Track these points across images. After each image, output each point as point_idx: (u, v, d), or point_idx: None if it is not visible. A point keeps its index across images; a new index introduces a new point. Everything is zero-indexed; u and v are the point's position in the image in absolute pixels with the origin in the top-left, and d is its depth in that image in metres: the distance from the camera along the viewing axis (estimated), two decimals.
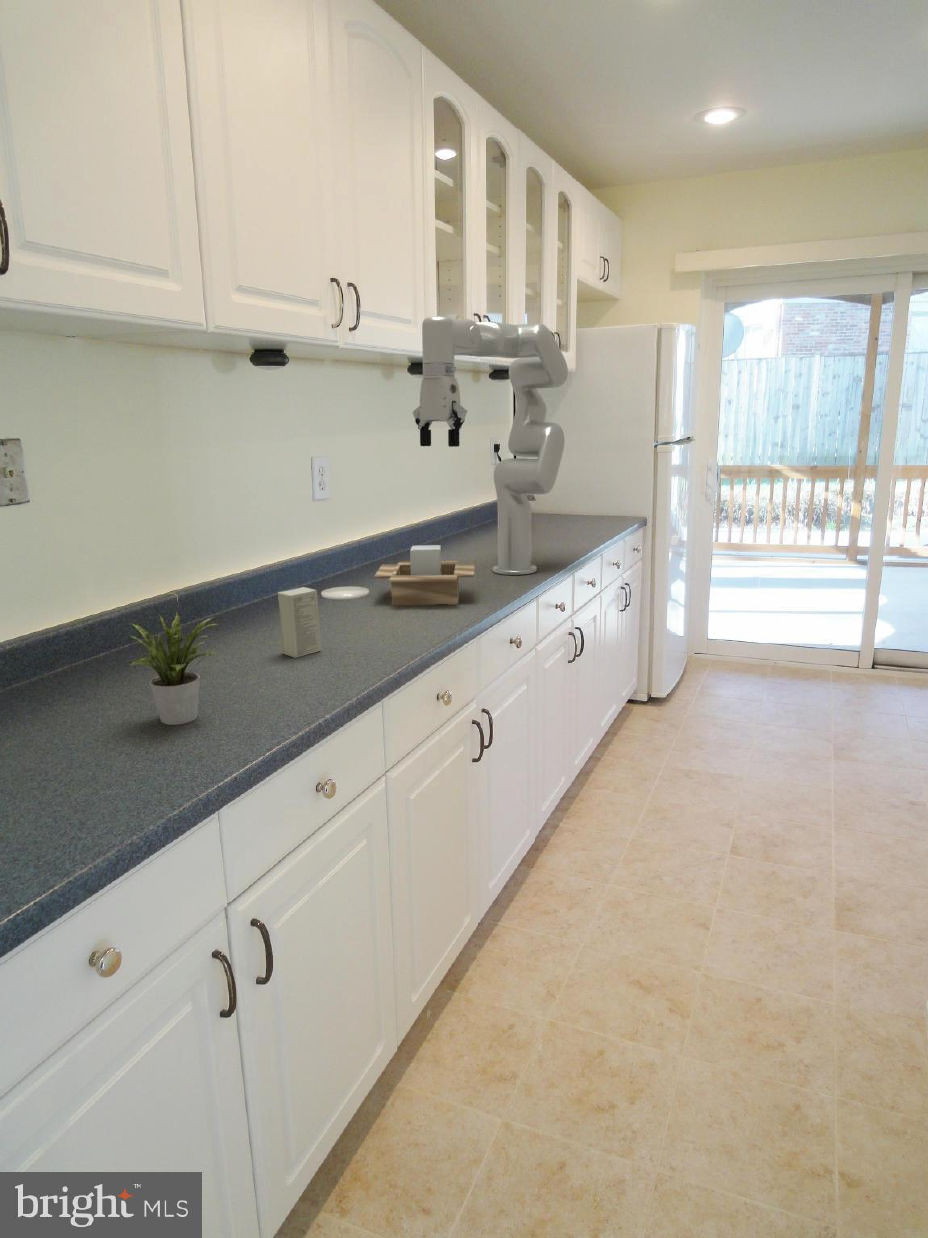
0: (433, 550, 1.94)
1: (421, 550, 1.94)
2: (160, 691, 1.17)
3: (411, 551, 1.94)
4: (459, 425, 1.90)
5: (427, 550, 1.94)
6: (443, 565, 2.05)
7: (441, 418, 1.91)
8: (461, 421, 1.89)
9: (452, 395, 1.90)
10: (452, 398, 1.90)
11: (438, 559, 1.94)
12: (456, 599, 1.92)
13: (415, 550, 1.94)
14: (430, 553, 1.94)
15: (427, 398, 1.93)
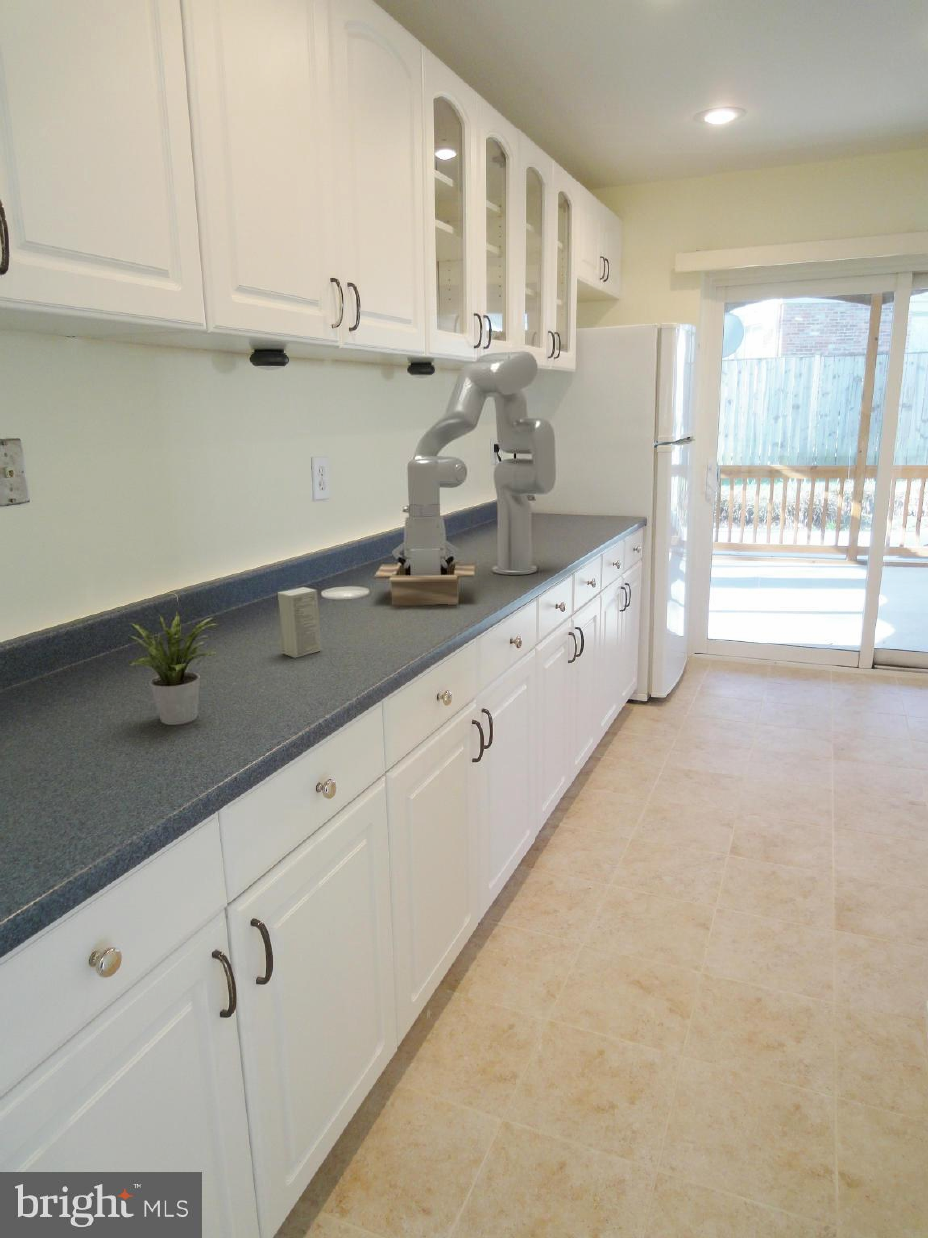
0: (433, 550, 1.94)
1: (421, 550, 1.94)
2: (160, 691, 1.17)
3: (411, 551, 1.94)
4: None
5: (427, 550, 1.94)
6: None
7: None
8: None
9: None
10: None
11: (438, 559, 1.94)
12: (456, 599, 1.92)
13: (415, 550, 1.94)
14: (430, 553, 1.94)
15: None
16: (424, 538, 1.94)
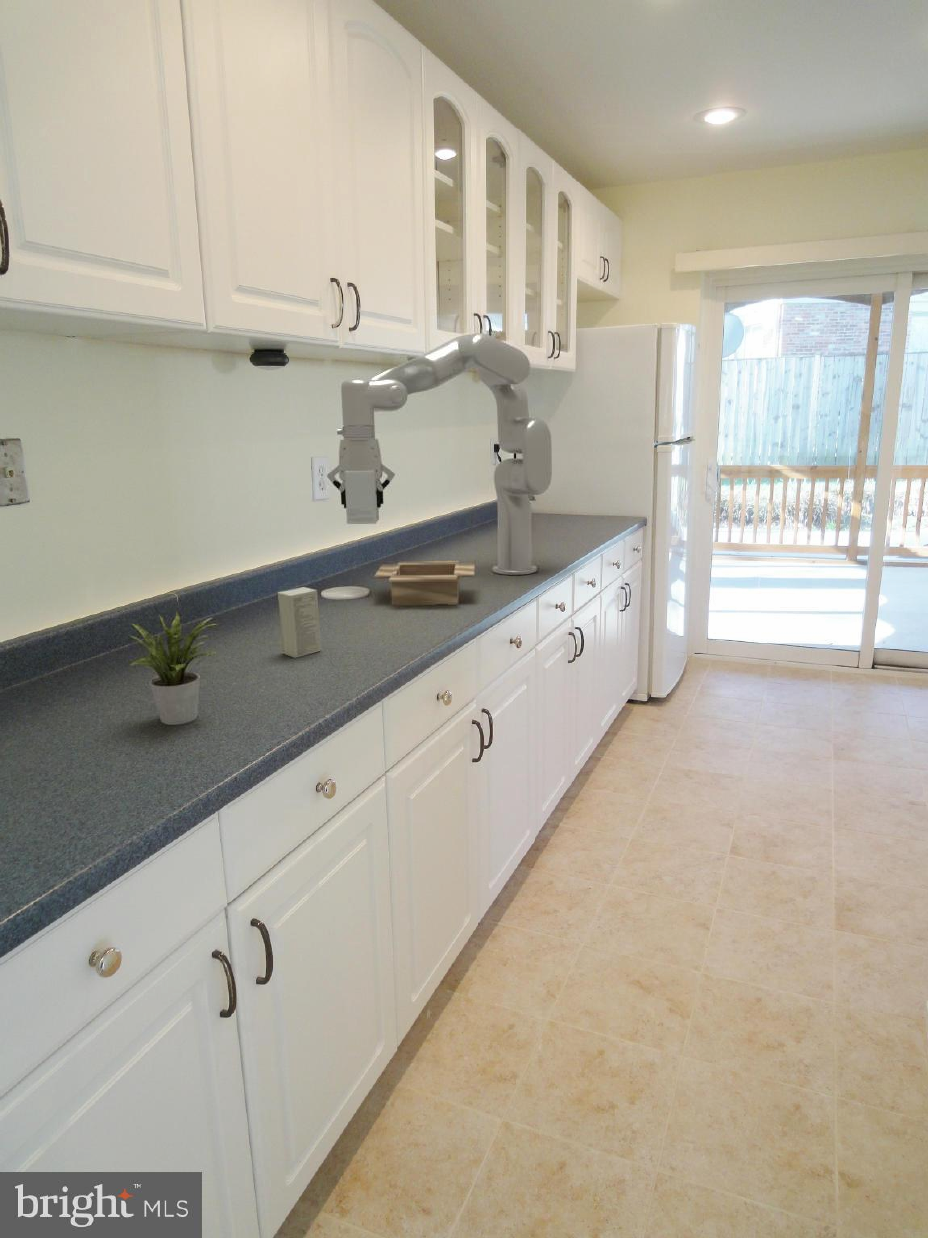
0: (368, 472, 1.93)
1: (356, 472, 1.93)
2: (160, 691, 1.17)
3: (346, 473, 1.93)
4: (337, 487, 1.97)
5: (362, 472, 1.93)
6: (443, 565, 2.05)
7: None
8: None
9: None
10: None
11: (373, 481, 1.93)
12: (456, 599, 1.92)
13: (350, 472, 1.93)
14: (365, 475, 1.93)
15: None
16: (359, 460, 1.93)
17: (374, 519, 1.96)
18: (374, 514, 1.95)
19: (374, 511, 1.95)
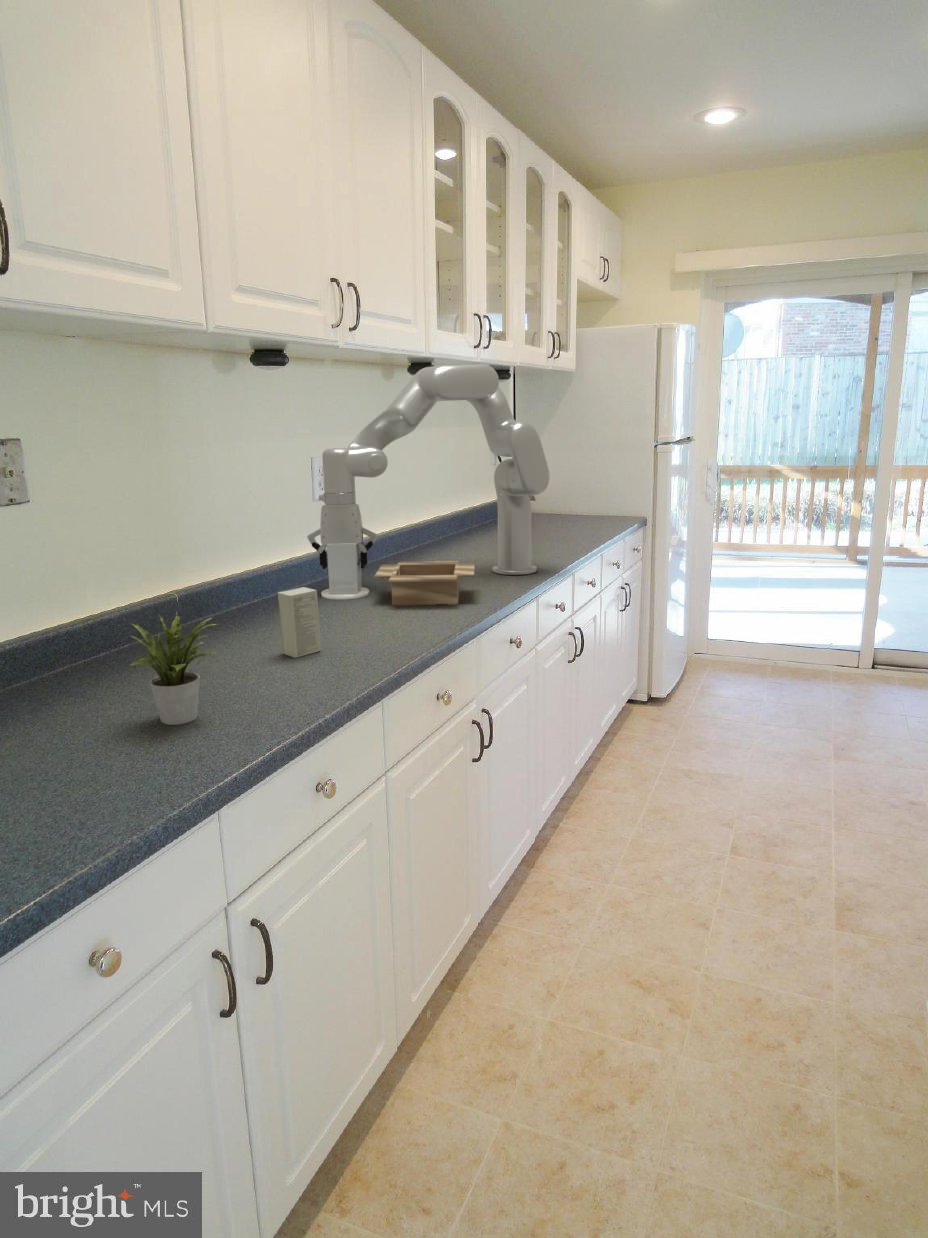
0: (349, 544, 1.99)
1: (338, 544, 1.99)
2: (160, 691, 1.17)
3: (328, 545, 1.99)
4: None
5: (343, 544, 1.99)
6: (443, 565, 2.05)
7: None
8: None
9: None
10: None
11: (354, 553, 1.99)
12: (456, 599, 1.92)
13: (332, 544, 1.99)
14: (346, 547, 1.99)
15: None
16: (339, 526, 1.98)
17: (356, 589, 2.01)
18: (356, 585, 2.01)
19: (356, 582, 2.01)
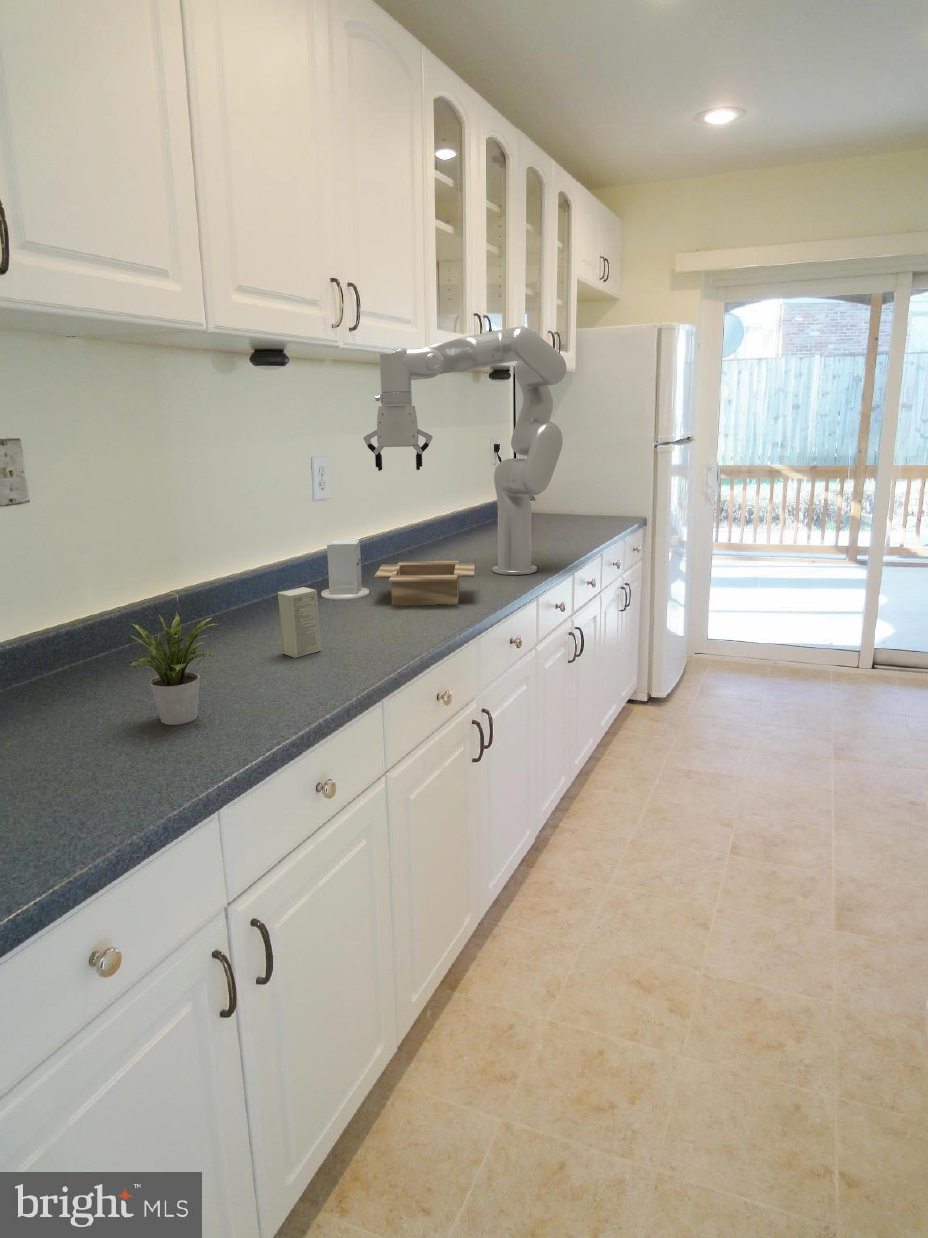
0: (349, 544, 1.99)
1: (338, 544, 1.99)
2: (160, 691, 1.17)
3: (328, 545, 1.99)
4: (372, 451, 2.04)
5: (343, 544, 1.99)
6: (443, 565, 2.05)
7: None
8: None
9: None
10: None
11: (354, 553, 1.99)
12: (456, 599, 1.92)
13: (332, 544, 1.99)
14: (346, 547, 1.99)
15: None
16: (396, 425, 2.00)
17: (356, 589, 2.01)
18: (356, 585, 2.01)
19: (356, 582, 2.01)
